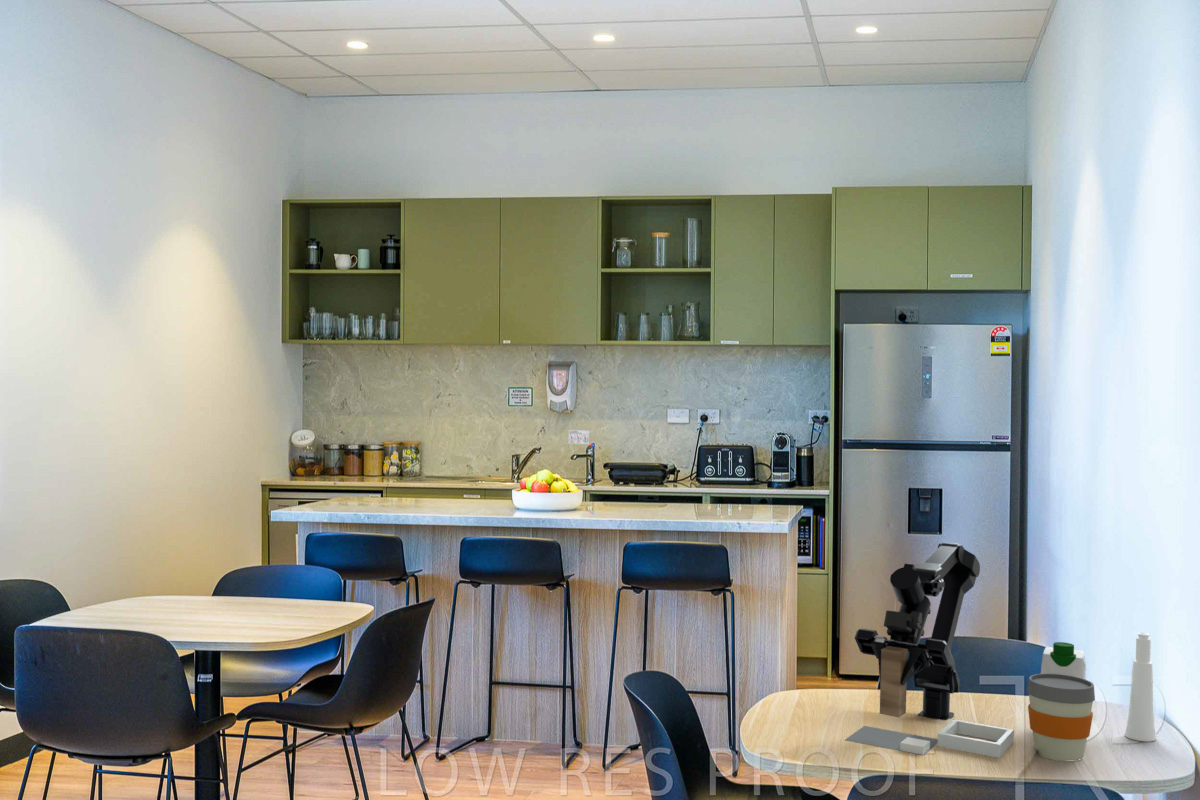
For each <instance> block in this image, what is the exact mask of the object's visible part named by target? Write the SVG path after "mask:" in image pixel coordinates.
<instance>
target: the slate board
mask: <svg viewBox="0 0 1200 800" xmlns="http://www.w3.org/2000/svg"><path fill="white" fill-rule="evenodd" d="M907 737H910V738H915V739H921V740H926V741H930V749H929V750H928V751H927V752H926V753H925V754H923V755H922V754H917V753H912V752H906V751H901V750H900V743H901V742H902V741H903V740H904V739H906V738H907ZM844 741H845V742H846V741H847V742H851V743H852V742H853V743H857V744H862V745H868V746H873V747H877V748H878V747H879V748H882V749H888V750H892V751H893V750H894V751H899V752H902V753H908V754H910V753H911V754H914V755H920V756H925V755H927V753H929V752H930V751H931V750H932V749H933V748H934V747H936V745H937V744H938V738H934V737H927V736H922V735H917V734H911V733H906V732H901V731H897V730H896V731H895V730H890V729H885V728H879V727H874V726H868V725H863V726H862V727H860V728H859V729H858V730H856V731H855V732H854V733H852V734H851V735H849V736H847V738H846V739H844Z"/></svg>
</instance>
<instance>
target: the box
mask: <svg viewBox="0 0 1200 800" xmlns="http://www.w3.org/2000/svg"><path fill="white" fill-rule="evenodd" d="M1014 733H1015V730H1014V729H1012V728H1006V727H1000V726H994V725H988V724H983V723H977V722H971V721H966V720H962V719H961V720H959V719H955V718H954V719H953V720H951V721H950V722H949V723H948V724H947V725H946V726H945V727H944V728H942V729H941V730H940V731H939V732H938V733H937V739H938V743H937V744H936V745H937V747H940V748H945V749H950V750H956V751H962V752H967V753H972V754H977V755H982V756H987V757H988V756H989V757H993V758H999V759H1000V758H1001V757H1003V755H1004V753H1005V752H1006V751H1008V749H1009V748H1010V747H1011V746H1013V744H1014V743H1015V742H1014V741H1015V740H1014V736H1015V735H1014ZM962 735H963V736H962ZM969 736H970V738H968V737H969ZM974 738H978V739H974ZM980 739H985V740H988V741H985V740H980ZM989 740H990V741H989ZM991 740H992V741H991ZM995 741H996V742H995Z"/></svg>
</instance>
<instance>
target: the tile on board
mask: <svg viewBox="0 0 1200 800" xmlns="http://www.w3.org/2000/svg"><path fill="white" fill-rule="evenodd" d="M929 749H930V741H926V740H921V739H915V738H910V737H907V738H906V739H904V740H903V741H902V742H901V743H900V750H901V751H900V752H903V751H906V752H905V753H908V752H912V753H911V754H913V753H917V754H916V755H918V754H922V755H921V756H924V755H923V754H925V753H926V752H927V751H928V750H929ZM927 753H928V752H927ZM927 753H926V754H927ZM926 754H925V755H926Z"/></svg>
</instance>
